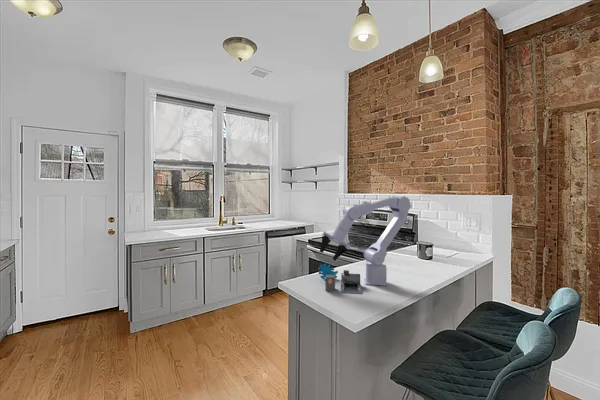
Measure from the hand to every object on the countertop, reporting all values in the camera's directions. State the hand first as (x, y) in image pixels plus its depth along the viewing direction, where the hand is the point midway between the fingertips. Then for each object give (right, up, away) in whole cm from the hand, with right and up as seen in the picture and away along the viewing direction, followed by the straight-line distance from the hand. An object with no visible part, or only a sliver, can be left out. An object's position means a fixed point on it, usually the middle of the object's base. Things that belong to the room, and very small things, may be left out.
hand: (327, 256), depth 130 cm
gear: (+1, -14, +9) cm, 17 cm away
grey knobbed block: (+1, -14, -4) cm, 15 cm away
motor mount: (+10, -14, -2) cm, 18 cm away
